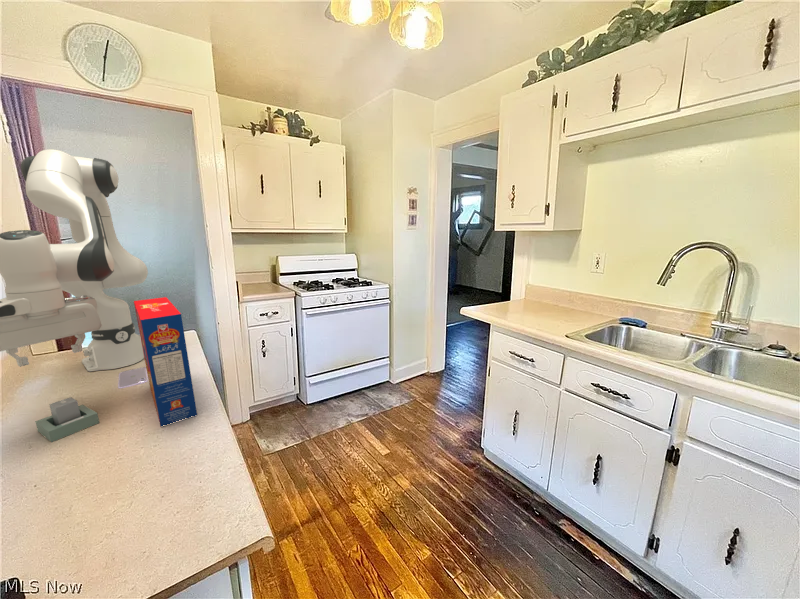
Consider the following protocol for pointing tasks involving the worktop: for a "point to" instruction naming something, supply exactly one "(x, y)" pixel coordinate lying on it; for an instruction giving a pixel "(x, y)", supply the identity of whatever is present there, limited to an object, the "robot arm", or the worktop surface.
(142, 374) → the mobile phone
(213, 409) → the worktop surface
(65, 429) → the green square tray
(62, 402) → the block
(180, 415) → the pasta box
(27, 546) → the worktop surface
